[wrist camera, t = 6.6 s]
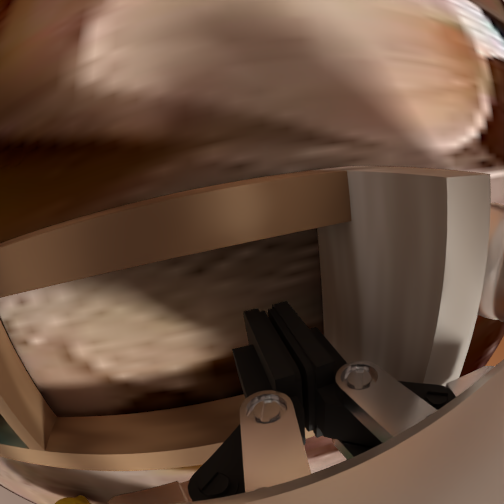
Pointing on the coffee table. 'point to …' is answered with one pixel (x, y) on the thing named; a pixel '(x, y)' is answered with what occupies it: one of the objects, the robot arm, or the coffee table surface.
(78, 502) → the lemon
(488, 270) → the plastic bottle
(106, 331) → the coffee table surface
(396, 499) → the robot arm
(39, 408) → the wooden compartment tray
